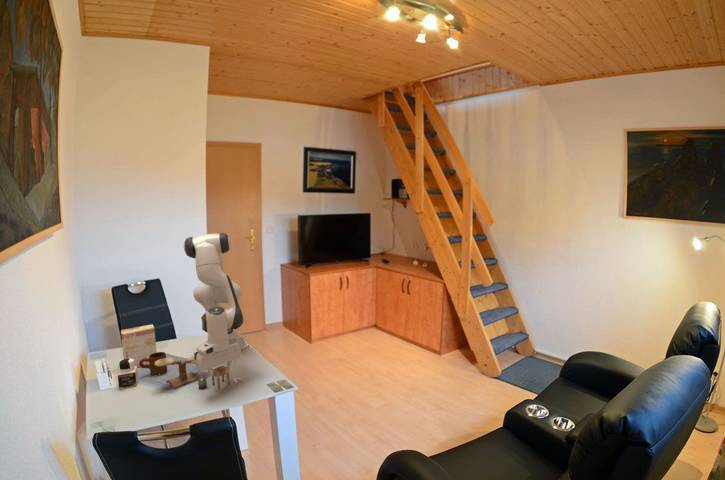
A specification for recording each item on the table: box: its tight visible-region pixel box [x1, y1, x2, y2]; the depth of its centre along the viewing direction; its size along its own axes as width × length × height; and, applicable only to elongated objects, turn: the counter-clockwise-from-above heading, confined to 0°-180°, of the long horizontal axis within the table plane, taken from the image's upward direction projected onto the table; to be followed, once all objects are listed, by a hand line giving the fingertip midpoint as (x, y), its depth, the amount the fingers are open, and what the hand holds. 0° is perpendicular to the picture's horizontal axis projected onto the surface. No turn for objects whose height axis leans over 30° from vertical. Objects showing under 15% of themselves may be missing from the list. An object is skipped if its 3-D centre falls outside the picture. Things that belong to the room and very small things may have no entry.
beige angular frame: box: [233, 377, 244, 383], centre depth 195 cm, size 25×17×1 cm
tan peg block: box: [211, 365, 231, 390], centre depth 180 cm, size 6×6×8 cm
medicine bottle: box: [117, 358, 139, 390], centre depth 186 cm, size 7×7×12 cm
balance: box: [155, 351, 200, 390], centre depth 188 cm, size 23×9×13 cm, turn 138°
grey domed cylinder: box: [197, 376, 208, 391], centre depth 182 cm, size 4×4×4 cm
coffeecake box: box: [120, 324, 157, 369], centre depth 207 cm, size 15×7×20 cm, turn 123°
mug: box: [139, 351, 168, 376], centre depth 197 cm, size 12×8×9 cm, turn 126°
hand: (220, 373), depth 180 cm, fingers closed on tan peg block, 6 cm apart
